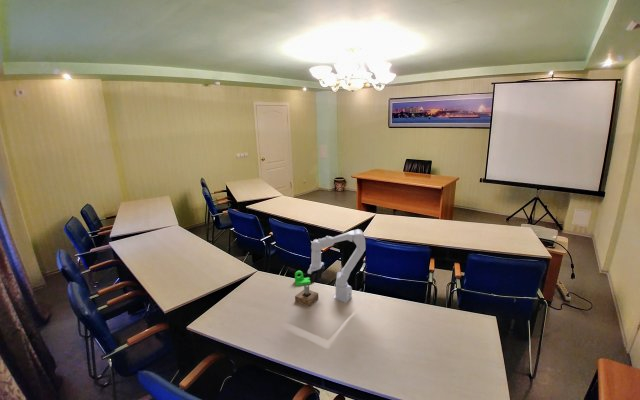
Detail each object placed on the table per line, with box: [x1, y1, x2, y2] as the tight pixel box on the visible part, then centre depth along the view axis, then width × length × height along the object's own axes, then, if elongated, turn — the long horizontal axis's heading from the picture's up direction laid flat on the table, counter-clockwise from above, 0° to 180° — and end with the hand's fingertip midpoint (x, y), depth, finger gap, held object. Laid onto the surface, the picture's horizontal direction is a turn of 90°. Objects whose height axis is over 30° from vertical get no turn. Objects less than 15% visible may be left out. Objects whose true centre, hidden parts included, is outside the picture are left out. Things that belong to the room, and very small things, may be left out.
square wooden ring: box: [294, 289, 319, 307], centre depth 171 cm, size 10×10×4 cm
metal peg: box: [303, 284, 310, 297], centre depth 170 cm, size 3×3×9 cm
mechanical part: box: [294, 270, 313, 287], centre depth 191 cm, size 12×6×8 cm, turn 103°
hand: (315, 280), depth 173 cm, fingers open, 7 cm apart
